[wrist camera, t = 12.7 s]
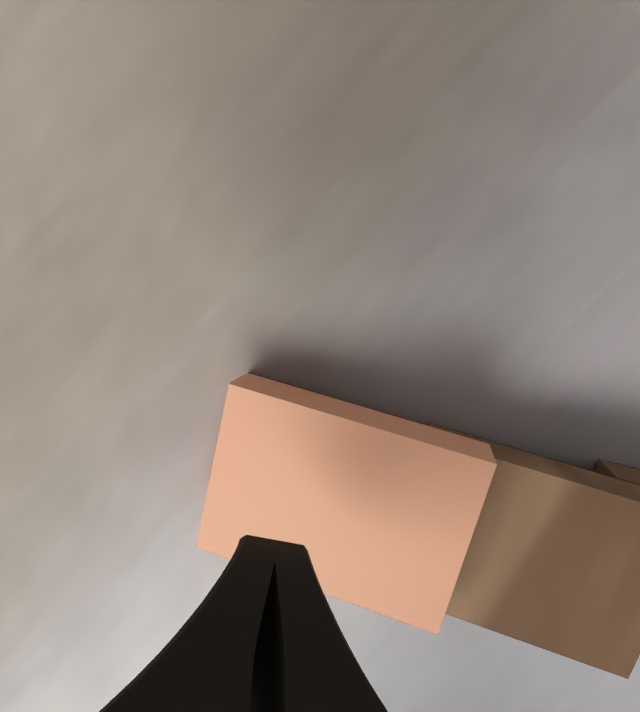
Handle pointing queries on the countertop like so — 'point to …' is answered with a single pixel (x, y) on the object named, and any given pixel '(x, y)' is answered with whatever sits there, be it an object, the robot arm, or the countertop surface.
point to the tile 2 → (555, 560)
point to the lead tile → (348, 495)
